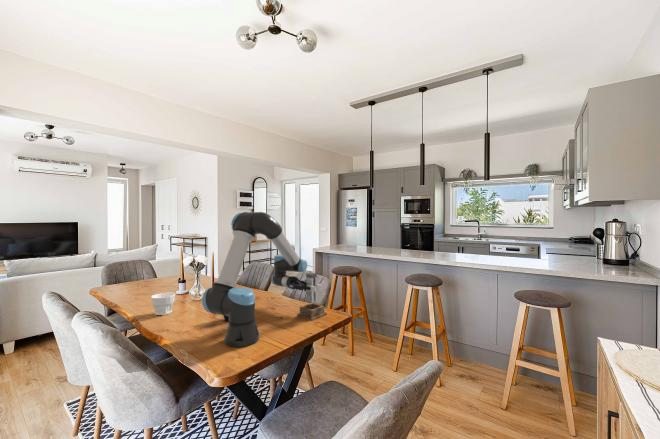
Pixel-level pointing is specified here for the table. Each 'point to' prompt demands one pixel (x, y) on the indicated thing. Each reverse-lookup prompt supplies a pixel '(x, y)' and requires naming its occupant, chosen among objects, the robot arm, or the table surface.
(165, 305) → the cup
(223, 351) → the table surface
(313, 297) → the steel tongs
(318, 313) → the box
